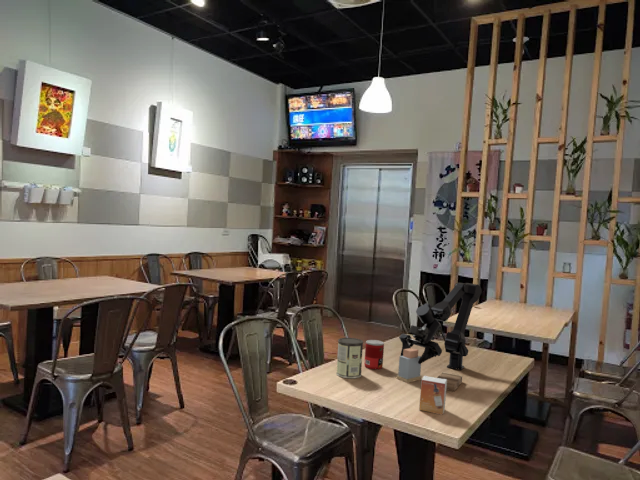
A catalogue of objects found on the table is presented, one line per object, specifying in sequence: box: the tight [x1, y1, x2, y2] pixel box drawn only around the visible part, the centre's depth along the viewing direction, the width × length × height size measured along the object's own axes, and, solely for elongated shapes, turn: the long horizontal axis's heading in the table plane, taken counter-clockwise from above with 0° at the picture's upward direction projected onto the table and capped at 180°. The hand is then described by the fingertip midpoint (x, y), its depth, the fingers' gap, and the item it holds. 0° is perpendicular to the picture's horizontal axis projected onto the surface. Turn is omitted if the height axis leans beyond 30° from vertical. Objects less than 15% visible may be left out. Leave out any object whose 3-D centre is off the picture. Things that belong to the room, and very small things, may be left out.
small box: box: [418, 375, 447, 416], centre depth 160 cm, size 8×6×10 cm
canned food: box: [364, 339, 385, 370], centre depth 207 cm, size 8×8×11 cm
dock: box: [436, 371, 463, 392], centre depth 189 cm, size 14×8×3 cm, turn 152°
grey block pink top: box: [396, 347, 423, 384], centre depth 193 cm, size 9×6×12 cm, turn 130°
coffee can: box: [336, 337, 364, 380], centre depth 194 cm, size 10×10×14 cm
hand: (409, 360), depth 193 cm, fingers open, 9 cm apart
